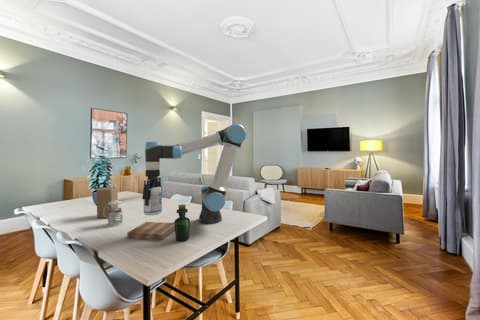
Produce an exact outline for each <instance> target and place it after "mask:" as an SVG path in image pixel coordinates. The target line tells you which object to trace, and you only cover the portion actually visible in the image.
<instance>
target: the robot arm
mask: <svg viewBox="0 0 480 320" xmlns="http://www.w3.org/2000/svg"><path fill="white" fill-rule="evenodd" d="M246 138H247V131H246V129H245V127H244V126H243V125H242V124H239V123H233V124H230V125H229V126H227V127H225V128H223V129H221V130H218V131H216V132H215V133H213V134H210V135H206V136H203V137H199V138H194V139H192V140H191V139H190V140H188V141H185V142H180V143H178V144H177V143H176V144H173V145H161V143H160V142H159V141H146V142H145V147H144V150H145V151H144V153H145V154H144V156H145V157H144V158H145V159H144V160H145V162H144V163H145V164H144V165H145V177H146V178H147V179H146V180H143V192H142V200H143V201H144V200H145V211H147V212H150V211H151V199H150V196H151V190H149V189H152V188H153V187H161V190H162V189H163V188H162V179H161V177H160V176H161V170H160V169H161V159H162V160H163V159H164V160H165V159H167V160H169V159H170V160H171V159H172V160H173V159H174V160H176V159H182V156H184V155H188V154H191V153H194V152H198V151H201V150H205V149H208V148H212V147H215V146H223V147H222V151H221V153H220V157H219V160H218V163H217V166H216V170H215V173H214V176H213V178H212V181H211V183H210V184H208V185H205V186H202V187H201V189H200V190H201V191H200V192H201V210H200V213H199V216H198V221H199V223H200V224H201V223H202V224H208V225H211V224H217V223H220V222H221V221H223V218H222V217H223V216H222V213H221V210H223V208H224V207H225V204H226V198H225V197H226V194H227V189H226V187H227V183H228V181H229V177H230V173H231V170H232V167H233V164H234V162H235V158H236V155H237V151H238V150H241V147H242V144H243V142H245V140H246ZM162 191H163V190H162Z"/></svg>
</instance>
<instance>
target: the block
mask: <svg viewBox="0 0 480 320" xmlns="http://www.w3.org/2000/svg"><path fill="white" fill-rule="evenodd" d="M118 193H119V192H118V187H113V186H111V187H101V188H99V189H96V216H97V217H96V218H97V219H107V218H106V217H108V212H110V211H109V209H112V208H119V204H118V205H108V203H109V202H111V201H114V200H119V199H118V195H119V194H118ZM106 206H108V207H107V208H106V209H104V208H105V207H106ZM108 208H109V209H108ZM103 210H105V211H103ZM103 213H104V215H105V217H104V215H103ZM112 213H114V212H112ZM114 216H116V215H114ZM112 217H113V216H112Z"/></svg>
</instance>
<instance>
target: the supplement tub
mask: <svg viewBox="0 0 480 320" xmlns="http://www.w3.org/2000/svg"><path fill="white" fill-rule="evenodd" d="M161 188H162V186H161V187H153V188H152V189H149V190H151V196H150V199H151V211H150V212H147V211H145V200H143V214H144V215H145V216H157V215H160V214H162V211H163V204H162V203H163V202H162V201H163V199H162V196H163V190H161Z"/></svg>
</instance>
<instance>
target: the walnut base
mask: <svg viewBox="0 0 480 320" xmlns="http://www.w3.org/2000/svg"><path fill="white" fill-rule="evenodd" d="M173 232H175V226H174V222H163V221H162V222H160V221H159V222H158V221H157V222H156V221H145V222H143V223H142V224H140V225H138V226H136V227H135V228H133V229H131V230H129V231H128V232H127V233H126V239H136V240H152V241H153V240H155V241H164V240H165V239H167V238H168V236H170V235H171V234H172V233H173Z"/></svg>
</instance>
